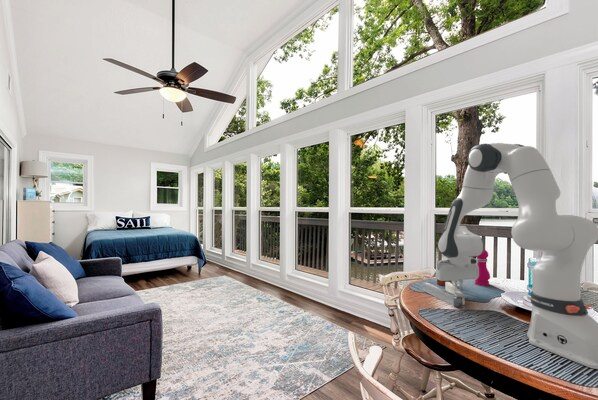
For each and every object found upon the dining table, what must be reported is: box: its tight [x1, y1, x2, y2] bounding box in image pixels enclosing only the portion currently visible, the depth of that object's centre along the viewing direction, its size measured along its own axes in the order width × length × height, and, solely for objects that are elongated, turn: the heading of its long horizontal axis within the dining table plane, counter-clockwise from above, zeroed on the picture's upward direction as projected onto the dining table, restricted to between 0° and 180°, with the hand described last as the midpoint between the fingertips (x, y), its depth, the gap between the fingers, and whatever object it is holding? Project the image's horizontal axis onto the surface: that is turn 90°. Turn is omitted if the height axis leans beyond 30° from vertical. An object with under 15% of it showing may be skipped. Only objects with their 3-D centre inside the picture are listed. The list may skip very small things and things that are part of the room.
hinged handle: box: [444, 282, 469, 306], centre depth 128 cm, size 24×4×5 cm, turn 168°
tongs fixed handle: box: [422, 282, 463, 309], centre depth 128 cm, size 24×3×4 cm, turn 10°
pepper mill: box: [474, 249, 491, 287], centre depth 150 cm, size 7×7×20 cm
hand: (457, 289), depth 133 cm, fingers closed
